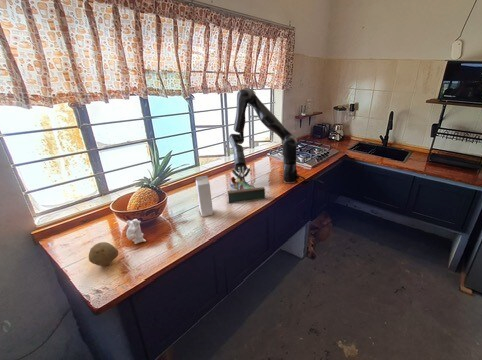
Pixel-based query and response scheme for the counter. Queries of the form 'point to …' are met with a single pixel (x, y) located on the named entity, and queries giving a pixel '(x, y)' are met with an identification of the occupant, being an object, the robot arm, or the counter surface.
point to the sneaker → (239, 184)
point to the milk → (204, 195)
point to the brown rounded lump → (102, 254)
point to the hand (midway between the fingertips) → (243, 182)
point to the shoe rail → (246, 194)
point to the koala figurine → (134, 231)
